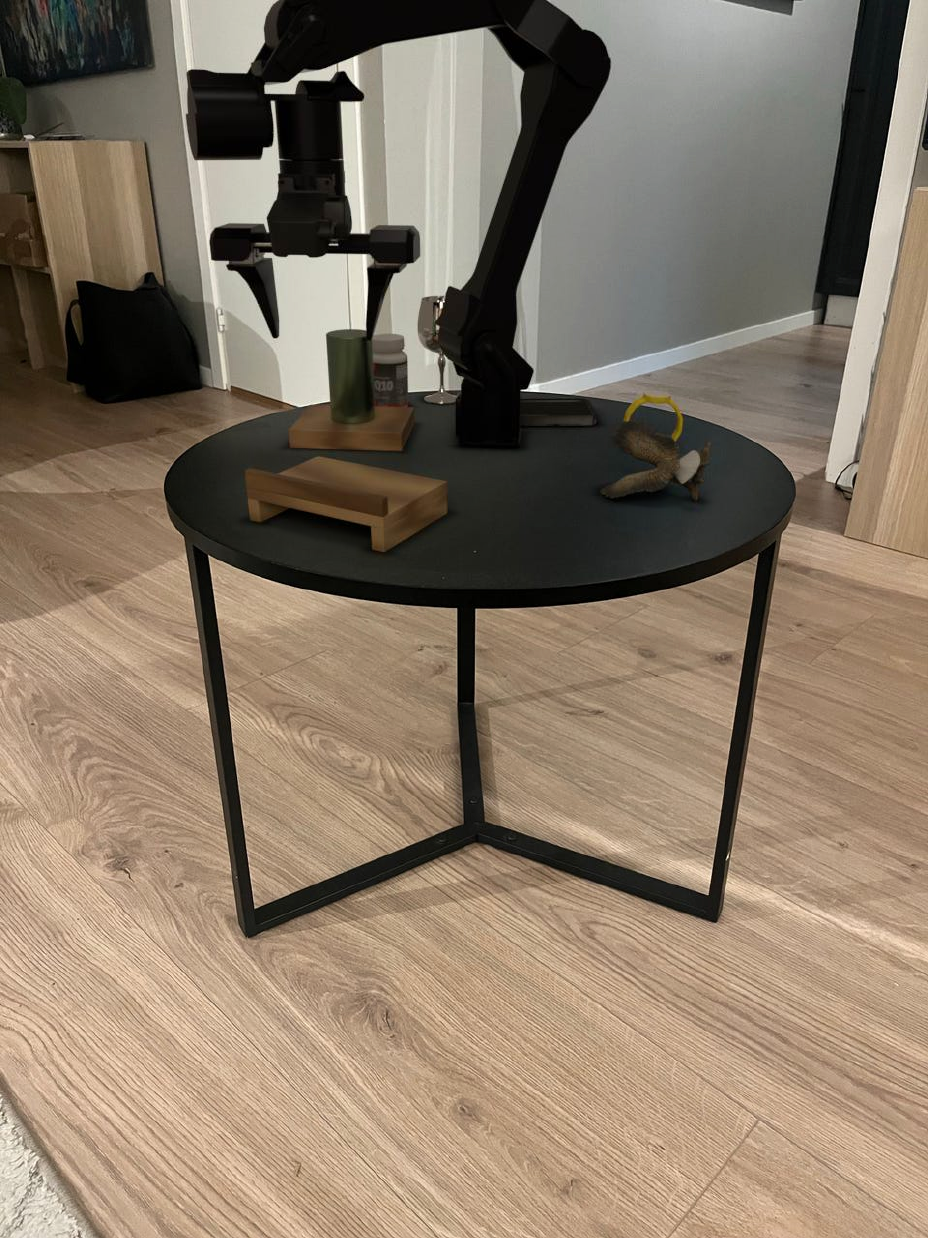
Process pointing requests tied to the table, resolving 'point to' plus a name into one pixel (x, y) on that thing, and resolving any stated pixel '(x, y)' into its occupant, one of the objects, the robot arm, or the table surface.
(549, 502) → the table surface
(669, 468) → the eagle figurine
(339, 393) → the green tumbler
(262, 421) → the table surface
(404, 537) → the shelf
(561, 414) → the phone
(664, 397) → the watch
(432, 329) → the wineglass
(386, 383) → the pill bottle
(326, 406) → the wooden block
